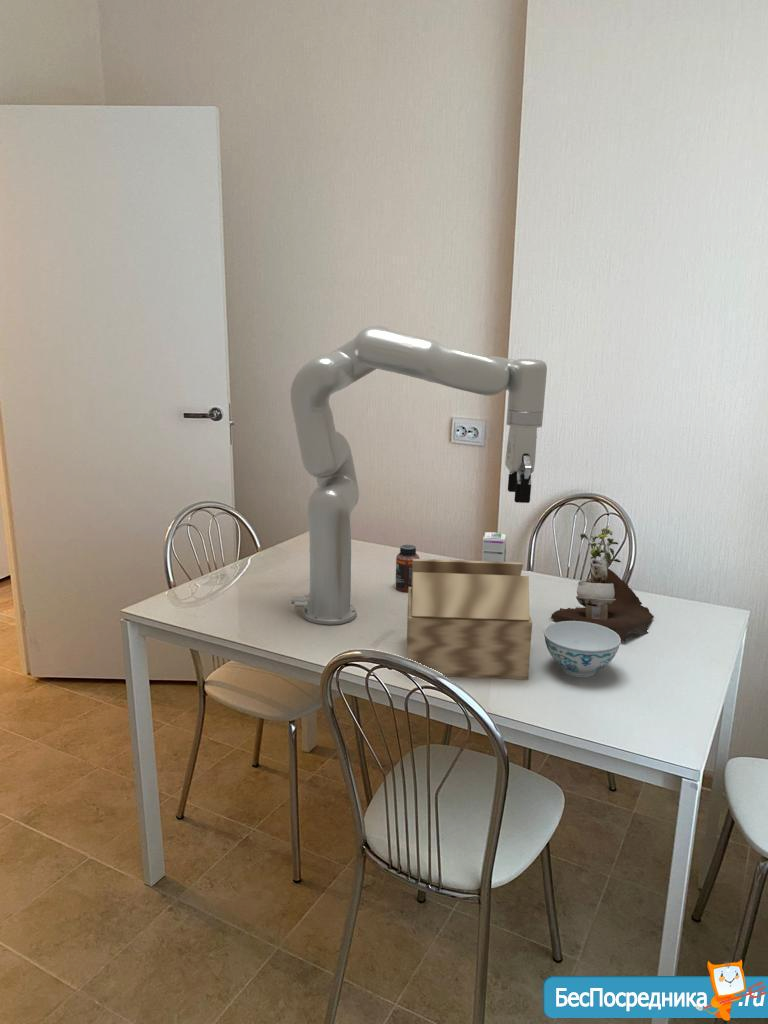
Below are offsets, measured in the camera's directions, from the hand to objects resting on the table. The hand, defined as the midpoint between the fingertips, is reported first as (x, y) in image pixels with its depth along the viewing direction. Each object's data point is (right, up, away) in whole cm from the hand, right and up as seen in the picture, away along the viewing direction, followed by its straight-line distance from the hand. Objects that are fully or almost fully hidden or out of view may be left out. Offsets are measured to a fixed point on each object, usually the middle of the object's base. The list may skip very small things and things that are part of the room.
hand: (518, 496), depth 180 cm
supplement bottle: (-23, -23, +33) cm, 46 cm away
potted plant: (+23, -29, +15) cm, 40 cm away
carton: (-12, -34, -7) cm, 37 cm away
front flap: (-12, -20, -17) cm, 29 cm away
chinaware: (+10, -36, -12) cm, 39 cm away
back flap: (-12, -17, -5) cm, 21 cm away
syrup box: (-1, -23, +34) cm, 42 cm away
